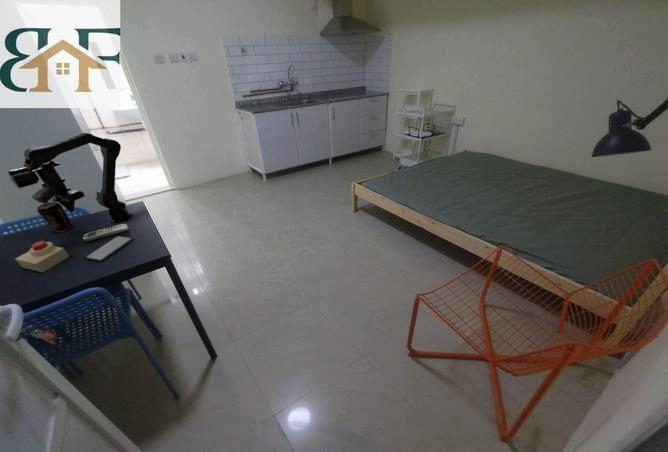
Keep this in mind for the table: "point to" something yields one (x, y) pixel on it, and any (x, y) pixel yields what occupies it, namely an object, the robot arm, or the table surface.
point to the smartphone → (109, 248)
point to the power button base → (42, 258)
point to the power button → (39, 245)
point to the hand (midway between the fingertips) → (72, 211)
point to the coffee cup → (55, 216)
